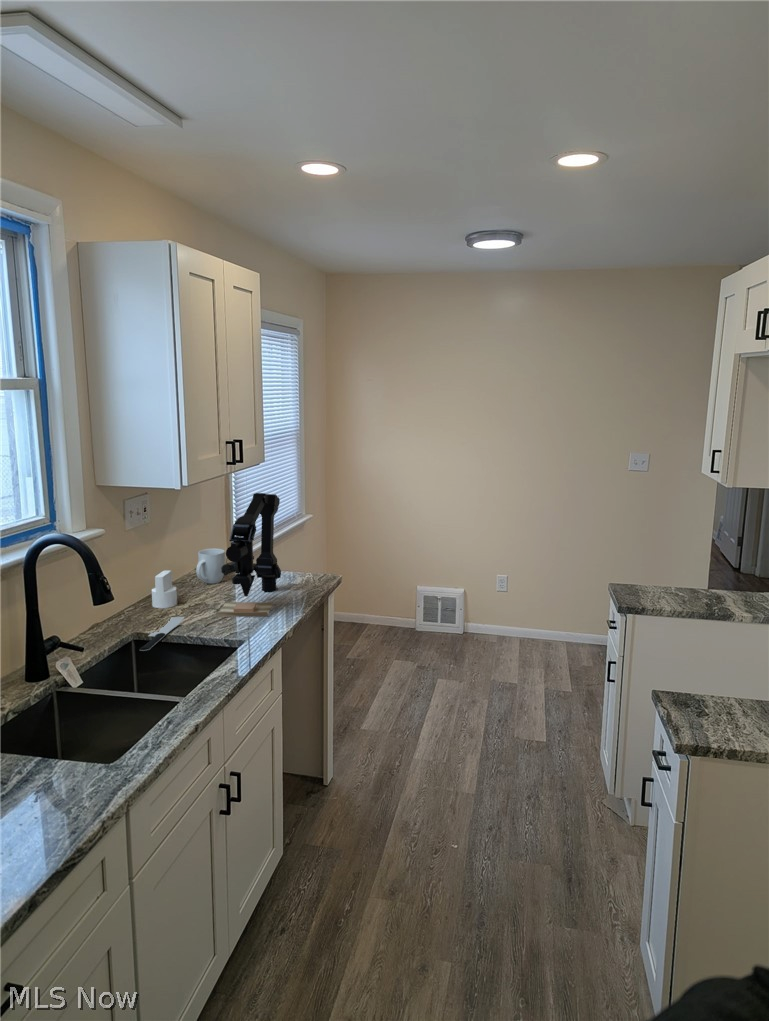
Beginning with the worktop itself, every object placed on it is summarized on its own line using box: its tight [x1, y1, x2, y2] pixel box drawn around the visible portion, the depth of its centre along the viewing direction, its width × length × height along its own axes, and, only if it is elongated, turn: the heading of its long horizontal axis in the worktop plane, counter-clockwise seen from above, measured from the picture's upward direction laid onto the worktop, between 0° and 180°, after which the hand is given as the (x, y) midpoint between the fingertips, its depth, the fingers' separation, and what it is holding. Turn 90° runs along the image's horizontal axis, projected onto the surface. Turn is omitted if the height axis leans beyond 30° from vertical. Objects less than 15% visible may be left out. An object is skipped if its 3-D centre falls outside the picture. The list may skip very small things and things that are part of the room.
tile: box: [234, 603, 256, 612], centre depth 249 cm, size 2×7×7 cm
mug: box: [195, 548, 227, 585], centre depth 285 cm, size 15×11×13 cm
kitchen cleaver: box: [139, 616, 185, 653], centre depth 228 cm, size 31×2×10 cm
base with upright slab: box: [151, 570, 178, 609], centre depth 257 cm, size 9×9×12 cm
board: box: [215, 601, 274, 618], centre depth 250 cm, size 16×18×2 cm
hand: (246, 596), depth 251 cm, fingers closed
